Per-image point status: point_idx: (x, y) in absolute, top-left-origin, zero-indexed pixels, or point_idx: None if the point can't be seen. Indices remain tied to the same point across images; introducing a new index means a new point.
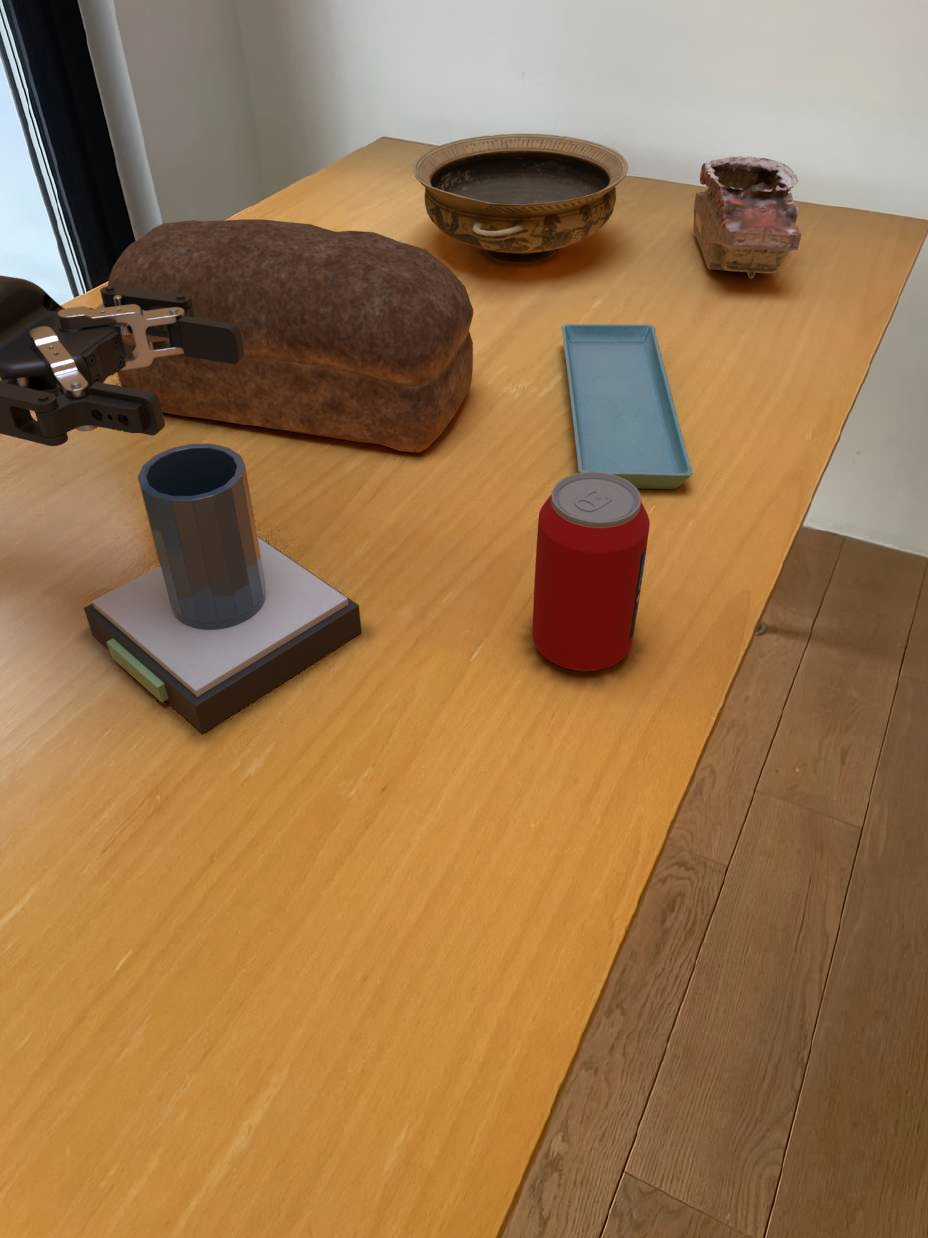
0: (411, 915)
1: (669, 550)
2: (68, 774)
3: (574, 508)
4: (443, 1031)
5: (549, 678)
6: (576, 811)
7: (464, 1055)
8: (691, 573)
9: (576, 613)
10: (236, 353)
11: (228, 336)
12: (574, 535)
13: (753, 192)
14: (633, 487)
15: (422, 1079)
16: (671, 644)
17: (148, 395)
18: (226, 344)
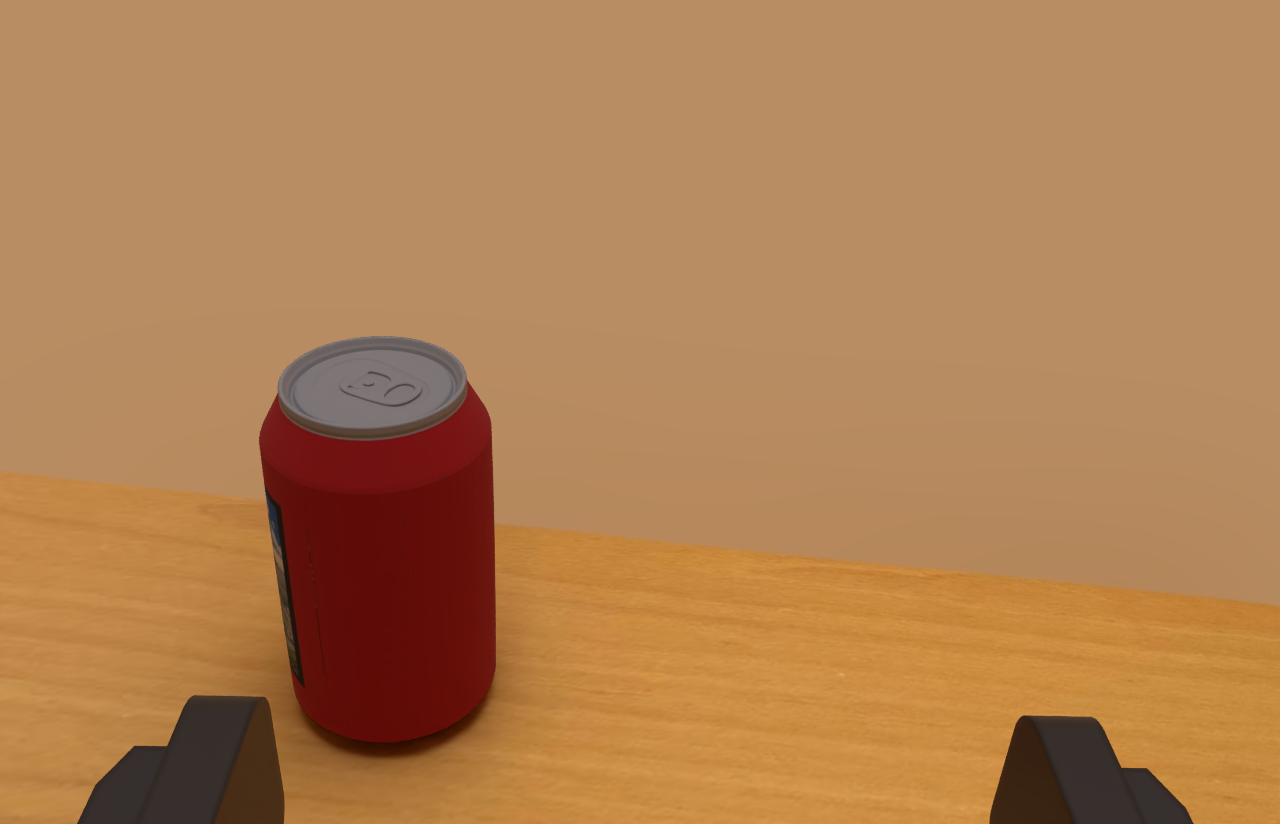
0: None
1: (70, 605)
2: None
3: (413, 405)
4: (1207, 695)
5: (505, 713)
6: (785, 633)
7: (1212, 670)
8: (150, 571)
9: (494, 555)
10: (281, 782)
11: (256, 745)
12: (474, 420)
13: None
14: (329, 346)
15: (1276, 700)
16: None
17: (1067, 721)
18: (257, 798)
